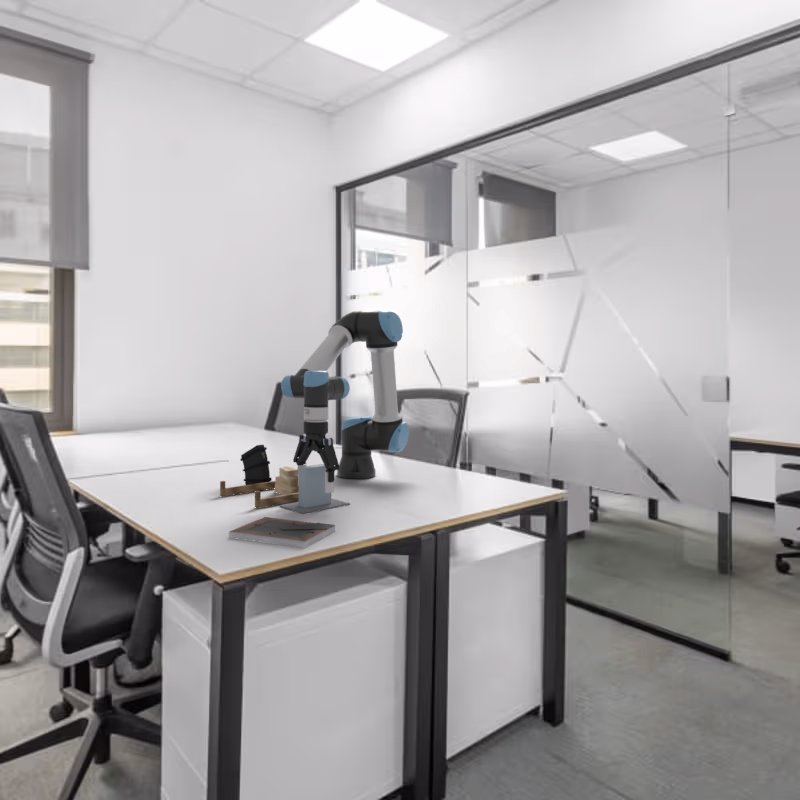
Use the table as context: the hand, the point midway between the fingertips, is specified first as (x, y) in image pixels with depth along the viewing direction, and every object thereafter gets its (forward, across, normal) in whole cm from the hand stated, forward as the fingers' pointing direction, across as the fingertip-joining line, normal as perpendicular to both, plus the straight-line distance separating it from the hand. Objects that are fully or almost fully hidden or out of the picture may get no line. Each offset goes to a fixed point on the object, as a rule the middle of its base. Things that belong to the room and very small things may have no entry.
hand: (315, 489), depth 192 cm
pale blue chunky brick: (+5, 0, 0) cm, 5 cm away
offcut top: (0, -20, +4) cm, 20 cm away
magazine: (+5, -37, +2) cm, 38 cm away
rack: (+5, -20, -3) cm, 20 cm away
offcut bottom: (+6, -20, +4) cm, 21 cm away
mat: (+5, 0, 0) cm, 5 cm away
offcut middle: (+3, -19, +4) cm, 20 cm away
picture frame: (+6, +20, -25) cm, 33 cm away
